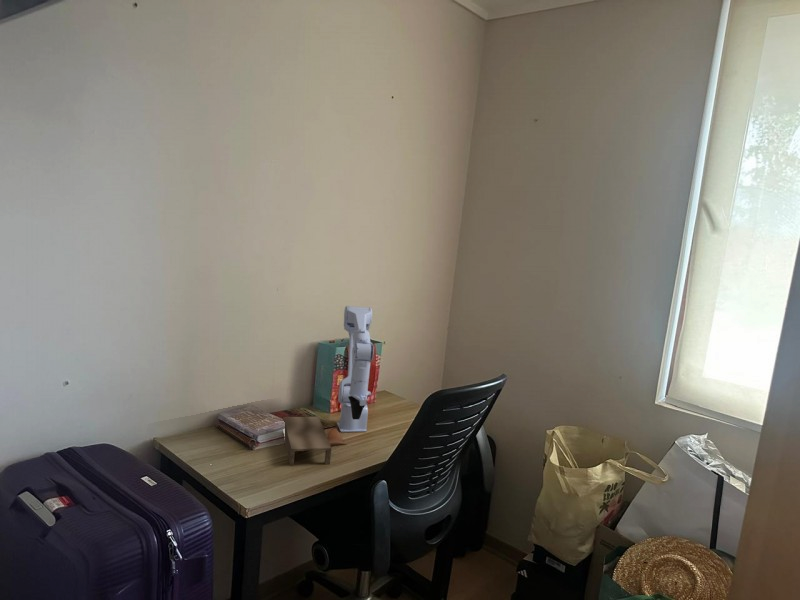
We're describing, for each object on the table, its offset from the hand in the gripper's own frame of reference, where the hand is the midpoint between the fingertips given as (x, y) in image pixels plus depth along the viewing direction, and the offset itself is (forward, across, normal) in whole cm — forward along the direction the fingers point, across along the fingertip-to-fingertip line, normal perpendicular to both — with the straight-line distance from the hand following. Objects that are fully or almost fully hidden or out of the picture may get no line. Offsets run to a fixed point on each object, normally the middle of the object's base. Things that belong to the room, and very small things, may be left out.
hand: (355, 418), depth 181 cm
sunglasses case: (+10, +2, +11) cm, 15 cm away
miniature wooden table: (+10, 0, +16) cm, 19 cm away
